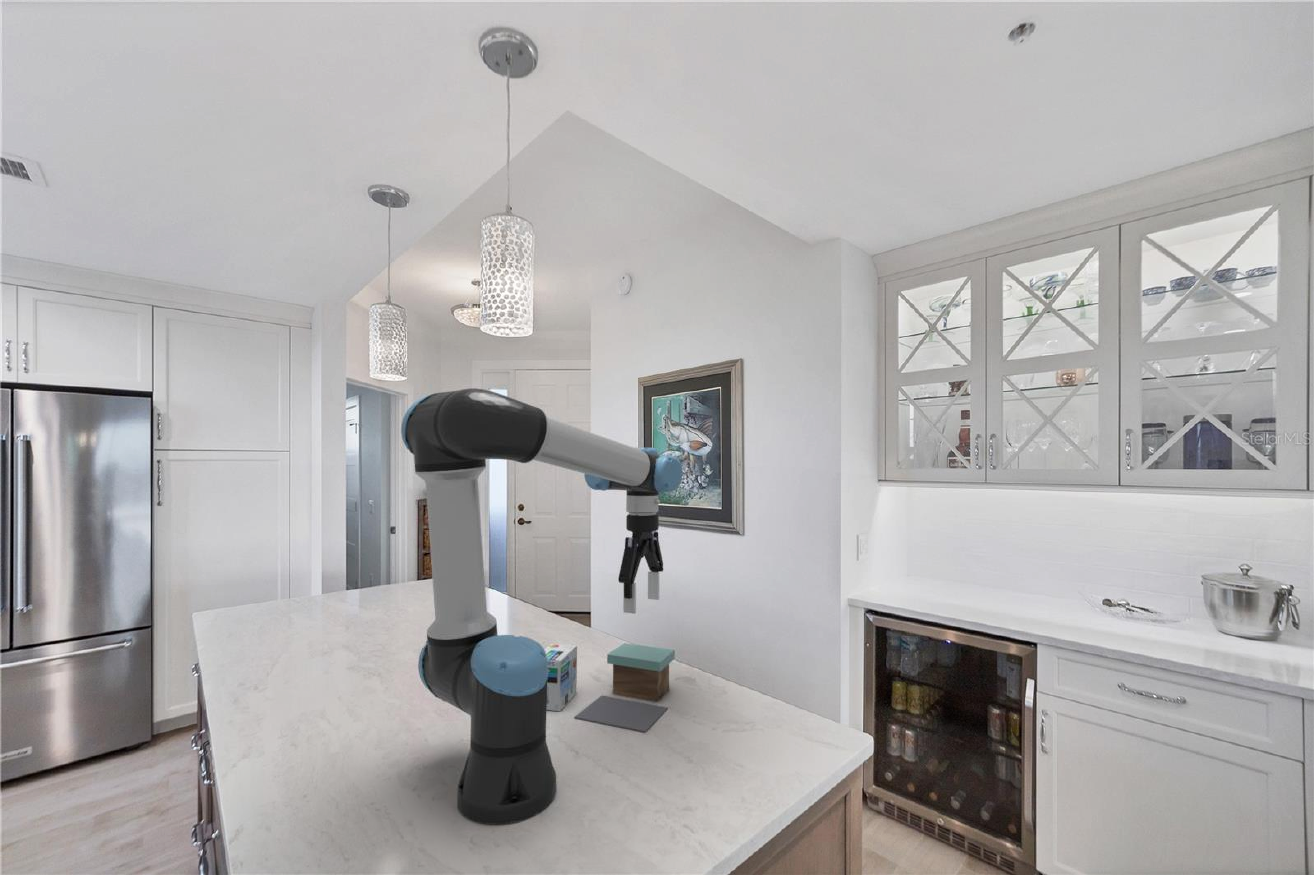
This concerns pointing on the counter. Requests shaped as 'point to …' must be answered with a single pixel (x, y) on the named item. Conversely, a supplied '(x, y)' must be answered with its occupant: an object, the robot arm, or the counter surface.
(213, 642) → the counter surface
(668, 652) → the lid
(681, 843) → the counter surface
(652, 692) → the box
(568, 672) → the light bulb box
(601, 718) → the mat
